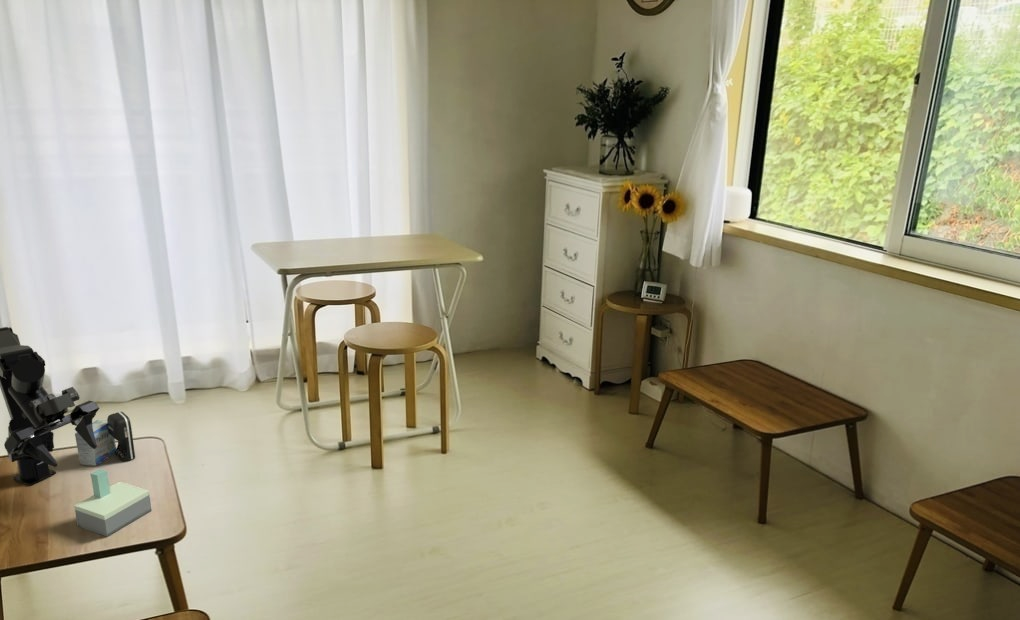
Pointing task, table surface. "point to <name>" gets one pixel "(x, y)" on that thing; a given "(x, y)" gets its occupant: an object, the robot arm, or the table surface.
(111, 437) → the medicine box
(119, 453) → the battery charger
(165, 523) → the table surface
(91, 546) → the table surface
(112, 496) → the lid
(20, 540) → the table surface
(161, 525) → the table surface
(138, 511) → the tub
